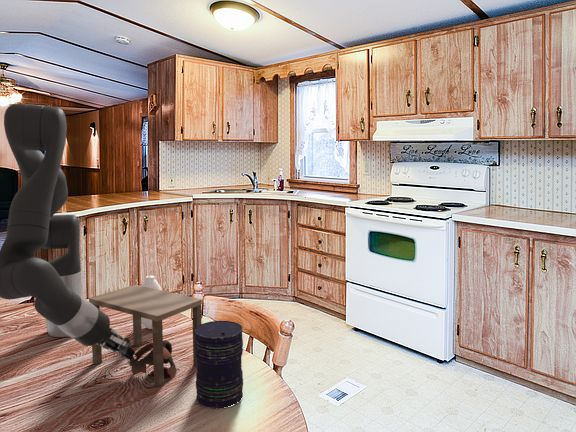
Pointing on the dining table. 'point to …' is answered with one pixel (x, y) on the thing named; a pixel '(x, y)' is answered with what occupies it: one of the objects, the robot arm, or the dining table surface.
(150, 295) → the wooden side table
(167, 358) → the pottery mug
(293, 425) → the dining table surface
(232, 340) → the dark blue cylinder
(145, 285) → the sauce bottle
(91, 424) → the dining table surface
